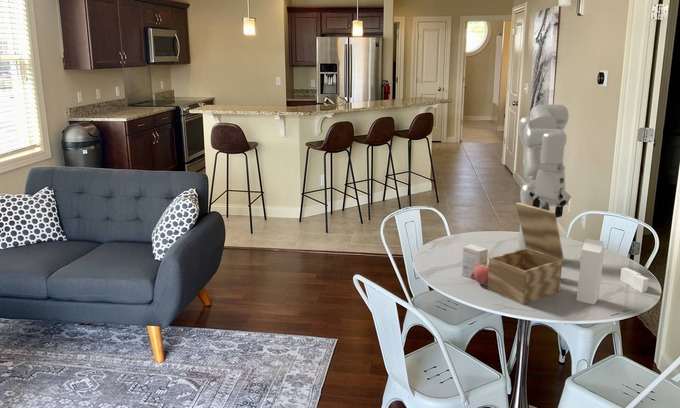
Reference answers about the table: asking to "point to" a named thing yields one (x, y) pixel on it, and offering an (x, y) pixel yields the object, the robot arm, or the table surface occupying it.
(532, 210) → the lid
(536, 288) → the wooden box
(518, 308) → the table surface
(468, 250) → the ink box
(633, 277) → the white stepped block
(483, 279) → the apple
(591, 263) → the milk
